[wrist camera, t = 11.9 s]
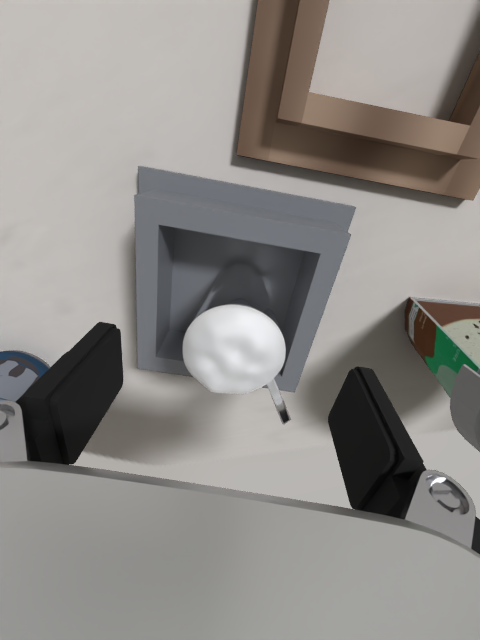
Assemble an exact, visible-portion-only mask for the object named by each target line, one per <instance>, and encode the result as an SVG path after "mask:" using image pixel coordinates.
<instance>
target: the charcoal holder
mask: <svg viewBox="0 0 480 640" xmlns="http://www.w3.org/2000/svg"><path fill="white" fill-rule="evenodd" d="M138 187H139V194H136V195H134V201H135V254H136V307H137V361H138V368H139V369H145V370H152V371H158V372H165V373H171V374H178V375H184V376H191V377H193V376H192V375H191V374H190V372H189V371H188V369H187V368H186V366H185V363H184V359H183V340H184V336H185V333H186V331H187V329H188V327H189V326H190V324H191V322H192V321H193V319H194V318H195V316H196V314H197V313H198V311H199V310H200V308H201V307H202V305H203V303H204V302H205V300H206V299H207V297H208V295H209V294H210V292H211V290H212V288H213V286H214V284H215V282H216V281H217V279H218V277H219V275H220V273H221V271H222V270H223V269H225V268H226V267H228V266H230V265H232V264H234V263H244V264H251V265H252V266H253V267H254V268H255V269H256V270H257V271H259V272H260V273H261V274H262V277H263V280H264V284H265V287H266V290H267V293H268V297H269V300H270V303H271V306H272V309H273V311H274V314H275V316H276V319H277V322H278V324H279V327H280V330H281V332H282V335H283V338H284V341H285V347H286V355H285V361H284V364H283V367H282V368H281V370H280V371H279V373H278V374H277V375H276V376H275V378H274V379H275V382H276V384H277V386H278V389H279V390H282V391H288V392H295V390H296V387H297V385H298V382H299V379H300V376H301V373H302V371H303V368H304V365H305V362H306V359H307V357H308V354H309V351H310V348H311V346H312V343H313V340H314V337H315V334H316V332H317V329H318V326H319V323H320V320H321V318H322V315H323V312H324V309H325V306H326V304H327V301H328V298H329V295H330V292H331V290H332V287H333V284H334V281H335V278H336V276H337V273H338V270H339V267H340V264H341V262H342V259H343V256H344V253H345V250H346V248H347V245H348V242H349V239H350V236H351V234H350V233H348V229H349V226H350V223H351V221H352V218H353V215H354V212H355V209H356V207H354V206H350V205H344V204H339V203H334V202H328V201H323V200H318V199H313V198H307V197H302V196H297V195H291V194H286V193H281V192H276V191H270V190H265V189H260V188H254V187H249V186H244V185H238V184H233V183H228V182H223V181H217V180H212V179H207V178H201V177H196V176H191V175H186V174H180V173H175V172H170V171H164V170H159V169H154V168H148V167H143V166H138ZM262 388H268V386H267V384H266V385H265V386H263V387H262Z"/></svg>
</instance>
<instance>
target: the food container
mask: <svg viewBox="0 0 480 640" xmlns="http://www.w3.org/2000/svg"><path fill="white" fill-rule="evenodd" d="M405 330H406V332H407V334H408V337H409V339H410V341H411V343H412V344H413V346H414V347H415V349H416V350H417V351H418V353H419V354H420V356H421V357H422V359H423V360H424V361H425V363H426V364H427V366H428V367H429V368H430V370H431V371H432V373H433V374H434V376H435V377H436V378H437V380H438V381H439V383H440V384H441V385H442V387H443V388H444V390H445V391H446V393H447V394H448V395H449V397H450V398H451V400H450V410H451V416H452V420H453V422H454V424H455V426H456V428H457V430H458V432H459V433H460V434H461V435H462V436H463V437H464V438H465V439H466V440H467V441H468V442H469V443H470V444H471V445H472V446H474V447H475V448H476V449H477V450H478V451H479V452H480V304H479V303H468V302H458V301H447V300H436V299H425V298H415V297H409V300H408V303H407V306H406V309H405Z"/></svg>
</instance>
